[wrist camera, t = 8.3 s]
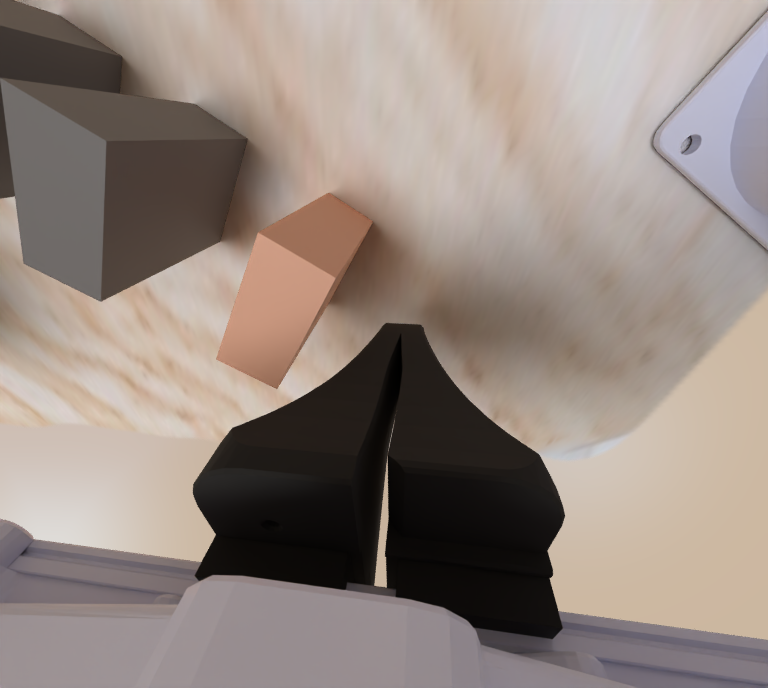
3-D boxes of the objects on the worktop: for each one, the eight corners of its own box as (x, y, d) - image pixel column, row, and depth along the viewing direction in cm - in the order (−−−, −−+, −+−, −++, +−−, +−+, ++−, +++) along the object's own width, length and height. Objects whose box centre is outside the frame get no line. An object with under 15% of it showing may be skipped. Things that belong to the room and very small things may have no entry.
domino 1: (373, 221, 12) (336, 278, 7) (328, 304, 15) (277, 389, 10) (328, 192, 12) (258, 232, 7) (289, 282, 14) (216, 359, 9)
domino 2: (247, 138, 11) (106, 141, 6) (220, 241, 14) (100, 301, 9) (194, 104, 11) (-1, 77, 6) (175, 215, 13) (24, 263, 8)
